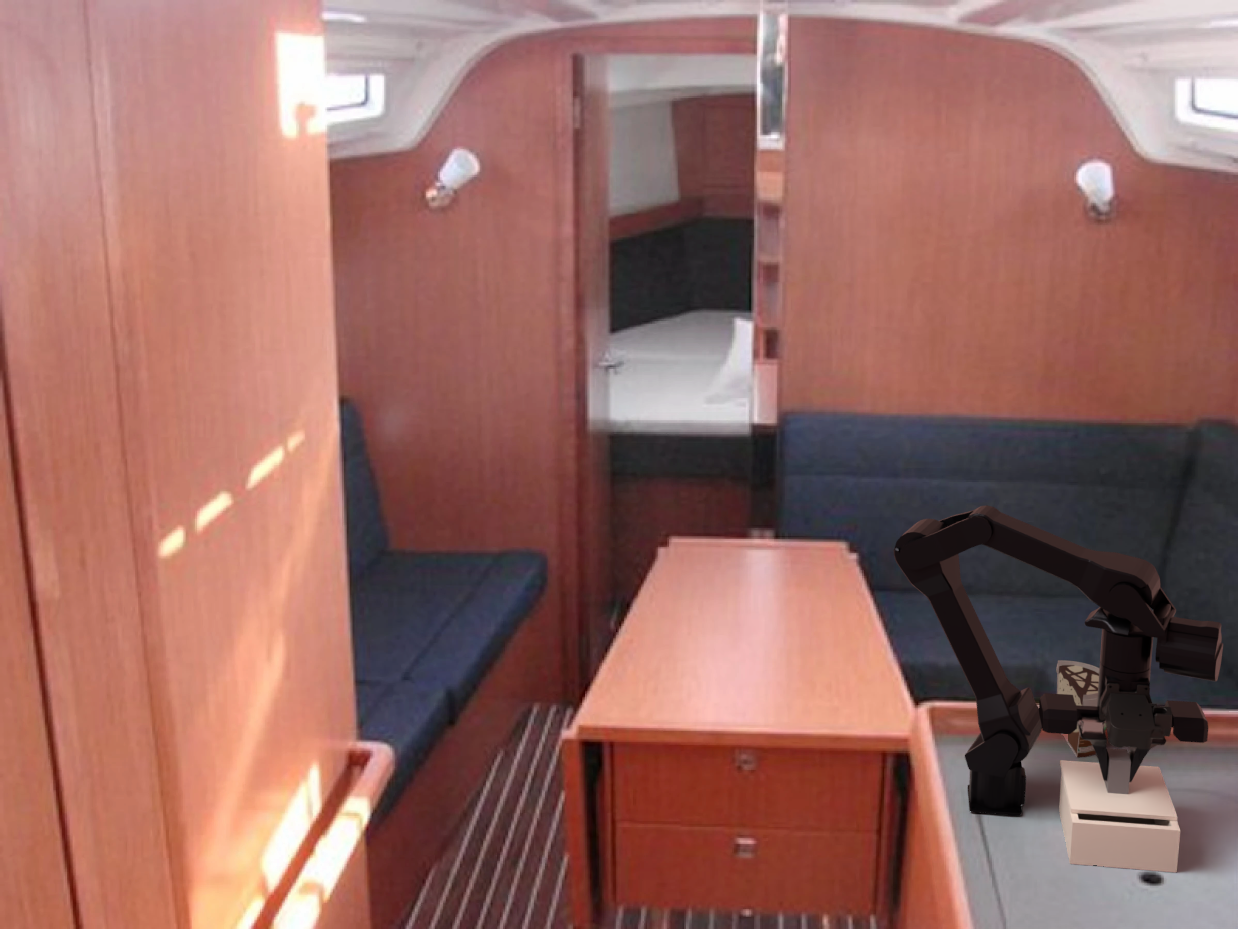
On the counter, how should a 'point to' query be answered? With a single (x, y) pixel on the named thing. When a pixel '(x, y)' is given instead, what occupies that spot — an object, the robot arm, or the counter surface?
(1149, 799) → the lid
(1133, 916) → the counter surface
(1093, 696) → the food container
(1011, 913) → the counter surface
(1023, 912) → the counter surface
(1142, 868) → the carton
